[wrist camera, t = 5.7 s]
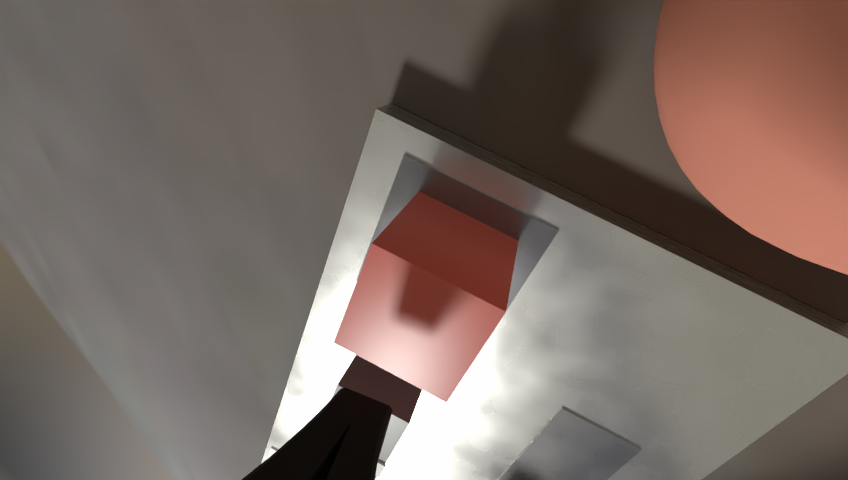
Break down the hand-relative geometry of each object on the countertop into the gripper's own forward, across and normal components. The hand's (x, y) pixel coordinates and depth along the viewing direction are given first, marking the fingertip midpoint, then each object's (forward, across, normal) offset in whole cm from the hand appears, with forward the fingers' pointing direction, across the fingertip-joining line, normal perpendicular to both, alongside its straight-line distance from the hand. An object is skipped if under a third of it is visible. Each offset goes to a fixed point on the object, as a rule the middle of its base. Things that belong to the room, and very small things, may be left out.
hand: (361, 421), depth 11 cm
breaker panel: (+8, -4, +7) cm, 12 cm away
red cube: (+7, 0, -1) cm, 7 cm away
